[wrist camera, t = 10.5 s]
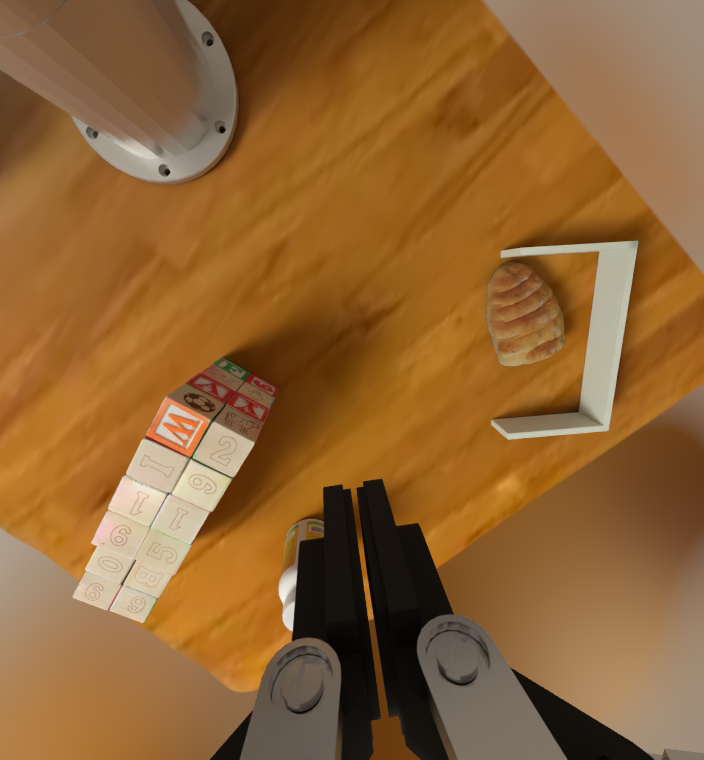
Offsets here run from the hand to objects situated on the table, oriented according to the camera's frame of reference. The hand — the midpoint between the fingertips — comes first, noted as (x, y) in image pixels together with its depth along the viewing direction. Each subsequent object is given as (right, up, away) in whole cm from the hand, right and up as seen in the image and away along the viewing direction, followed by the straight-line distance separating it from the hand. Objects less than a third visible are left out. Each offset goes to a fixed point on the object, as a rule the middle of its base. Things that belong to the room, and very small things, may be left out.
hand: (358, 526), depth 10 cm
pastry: (+16, +10, +25) cm, 31 cm away
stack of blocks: (-16, -4, +26) cm, 31 cm away
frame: (+19, +8, +25) cm, 32 cm away
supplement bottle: (-5, -13, +30) cm, 33 cm away
